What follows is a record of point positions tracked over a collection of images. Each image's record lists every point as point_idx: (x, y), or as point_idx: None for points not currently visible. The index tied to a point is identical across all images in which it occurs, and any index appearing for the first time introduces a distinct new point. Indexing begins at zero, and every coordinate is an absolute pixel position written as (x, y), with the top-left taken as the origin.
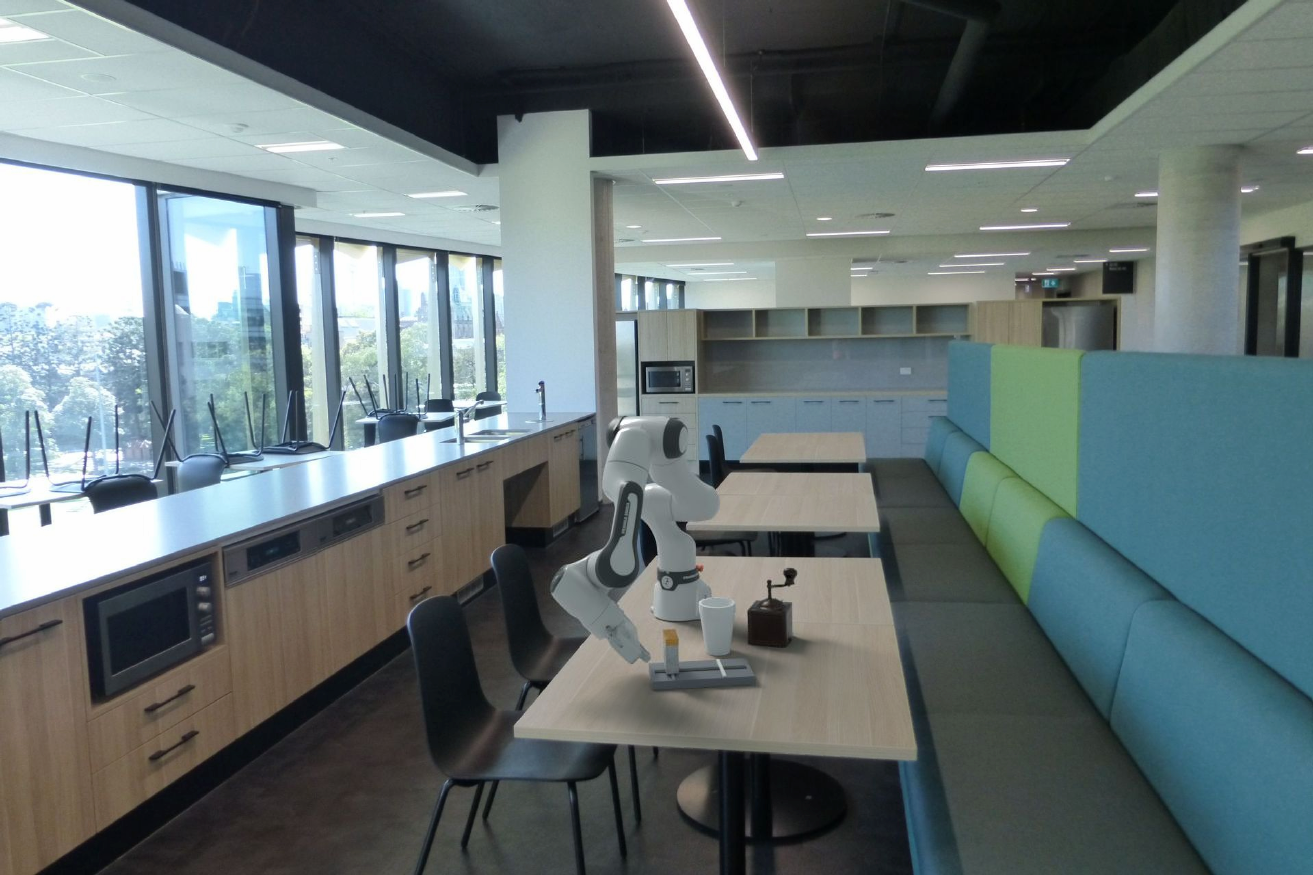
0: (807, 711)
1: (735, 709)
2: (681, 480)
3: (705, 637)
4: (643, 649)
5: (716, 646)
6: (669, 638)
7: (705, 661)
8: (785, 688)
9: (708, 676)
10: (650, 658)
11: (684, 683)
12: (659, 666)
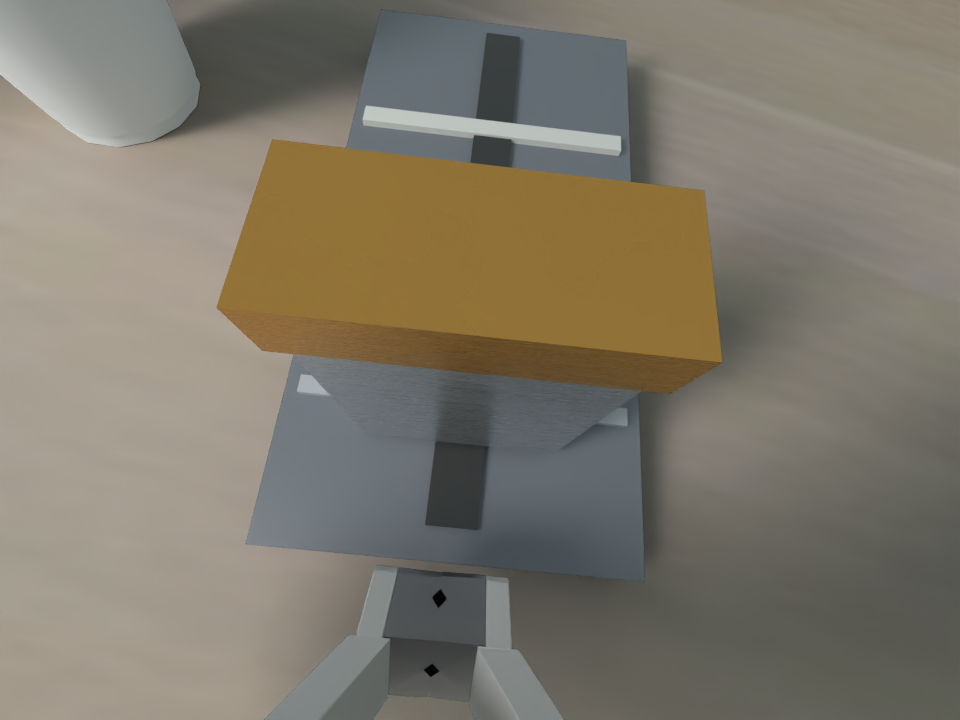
0: (880, 15)
1: (885, 215)
2: None
3: (57, 60)
4: (371, 668)
5: (165, 66)
6: (685, 299)
7: None
8: (667, 7)
9: None
10: (507, 582)
11: None
12: (347, 468)
